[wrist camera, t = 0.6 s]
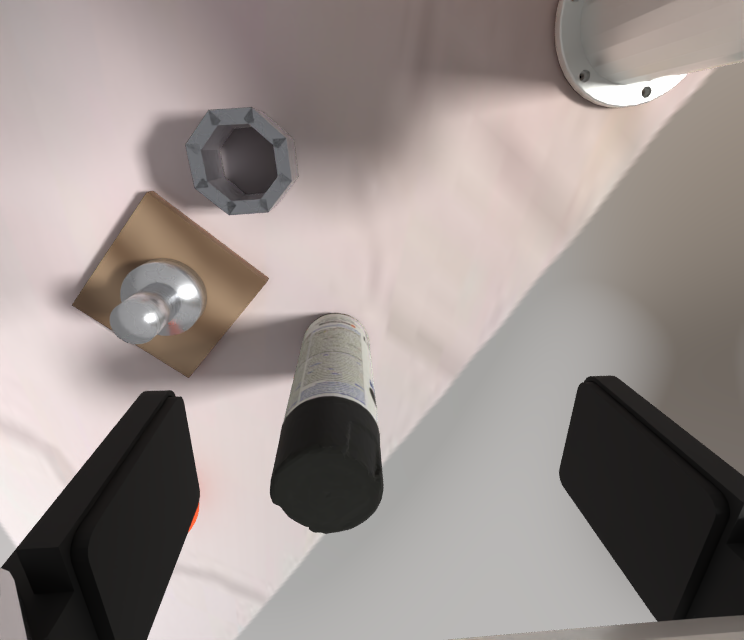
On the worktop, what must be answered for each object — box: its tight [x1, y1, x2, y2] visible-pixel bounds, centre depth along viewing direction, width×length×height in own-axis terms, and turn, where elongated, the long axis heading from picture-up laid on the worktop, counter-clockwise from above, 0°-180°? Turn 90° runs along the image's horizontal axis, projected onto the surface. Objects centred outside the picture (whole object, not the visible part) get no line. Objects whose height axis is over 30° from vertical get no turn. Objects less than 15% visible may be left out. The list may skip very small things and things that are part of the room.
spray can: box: [270, 314, 383, 534], centre depth 33 cm, size 7×7×20 cm
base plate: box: [72, 191, 269, 378], centre depth 38 cm, size 13×12×1 cm
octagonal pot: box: [185, 107, 299, 215], centre depth 33 cm, size 7×7×5 cm
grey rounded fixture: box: [110, 258, 207, 344], centre depth 34 cm, size 7×7×7 cm
